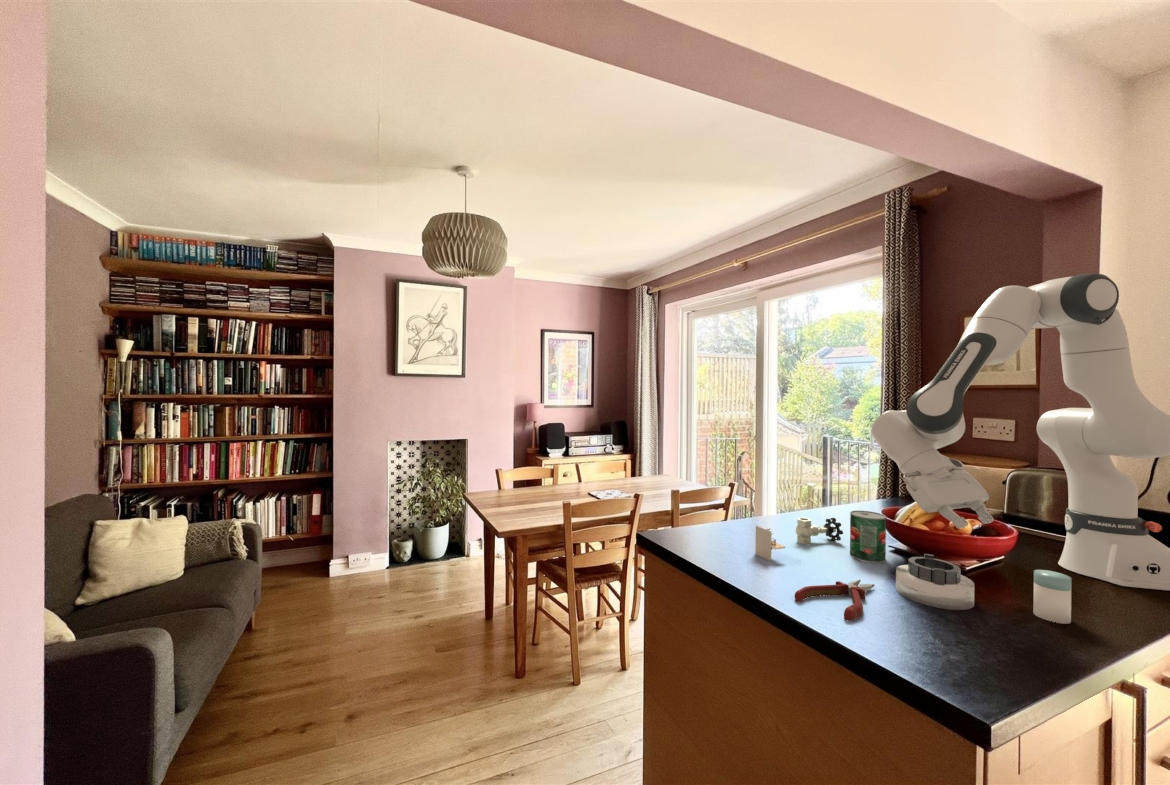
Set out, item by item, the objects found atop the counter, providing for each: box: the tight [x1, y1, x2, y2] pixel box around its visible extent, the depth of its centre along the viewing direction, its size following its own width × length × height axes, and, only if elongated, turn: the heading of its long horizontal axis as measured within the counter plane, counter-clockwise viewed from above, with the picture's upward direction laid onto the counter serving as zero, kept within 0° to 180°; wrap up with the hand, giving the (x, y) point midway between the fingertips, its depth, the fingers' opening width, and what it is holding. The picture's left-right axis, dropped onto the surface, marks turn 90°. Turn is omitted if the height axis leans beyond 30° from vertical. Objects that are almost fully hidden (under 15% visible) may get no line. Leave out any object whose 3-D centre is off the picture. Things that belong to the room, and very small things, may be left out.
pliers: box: [794, 579, 876, 622], centre depth 95 cm, size 12×20×3 cm, turn 126°
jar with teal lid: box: [1032, 569, 1072, 625], centre depth 88 cm, size 5×5×8 cm
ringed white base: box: [895, 553, 975, 611], centre depth 98 cm, size 13×16×7 cm
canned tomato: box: [849, 510, 887, 564], centre depth 119 cm, size 8×8×11 cm
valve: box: [795, 517, 844, 545], centre depth 131 cm, size 7×7×12 cm
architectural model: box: [754, 525, 786, 562], centre depth 118 cm, size 3×7×7 cm, turn 19°
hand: (977, 524), depth 99 cm, fingers open, 8 cm apart
